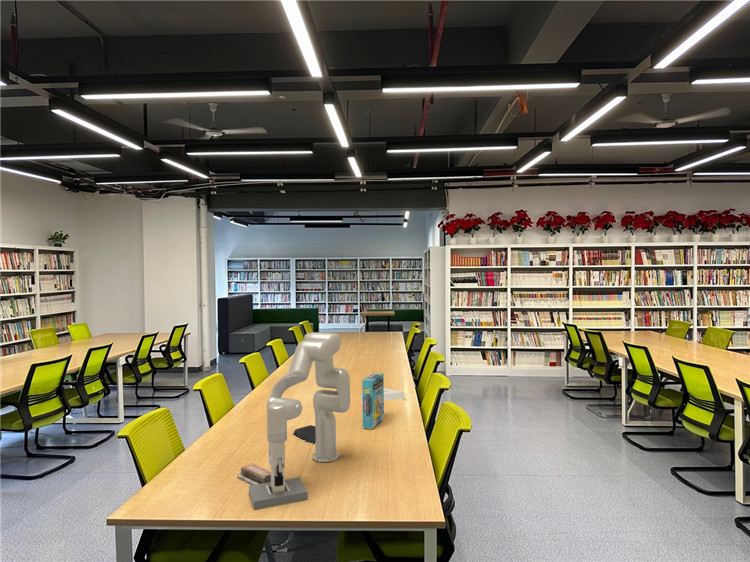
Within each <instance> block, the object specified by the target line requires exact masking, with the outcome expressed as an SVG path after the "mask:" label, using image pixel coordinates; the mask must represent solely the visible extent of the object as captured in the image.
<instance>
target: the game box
mask: <svg viewBox="0 0 750 562" xmlns="http://www.w3.org/2000/svg"><path fill="white" fill-rule="evenodd" d="M384 378H385V376H384V372H383V373H382V372H373V373H372V374H370V375H369V376H367V377H365V378H364V379H362V381H361V382H362V383H361V384H362V385H361V386H362V393H361V395H362V399H363V405H362V428H363V427H364V428H374V427H375V426H376V425H377V424H378V423H379V422H380V421H381V420H382V419H383V418H384V419H385V403H384V388H385V386H384ZM384 419H383V420H384ZM383 420H382V421H383ZM382 421H381V422H382ZM381 422H380V423H381ZM380 423H379V424H380ZM379 424H378V425H379ZM378 425H377V426H378ZM377 426H376V427H377ZM376 427H375V428H376ZM375 428H374V429H375Z"/></svg>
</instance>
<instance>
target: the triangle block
mask: <svg viewBox="0 0 750 562" xmlns="http://www.w3.org/2000/svg"><path fill="white" fill-rule="evenodd" d="M395 399H404V400H405V391H401V390H396V389H392V388H387V387H384V401H385V400H395ZM361 403H363V399H362V394H361V395H360V404H361Z"/></svg>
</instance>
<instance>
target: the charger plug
mask: <svg viewBox="0 0 750 562" xmlns="http://www.w3.org/2000/svg"><path fill="white" fill-rule="evenodd" d="M277 467H278V466H277ZM277 467H276V468H277ZM278 470H279V469H277V471H278ZM270 472H271V492H272V493H277V492H282V491H285V480H286V479H285V467H284V468H283V485H282V486H277V487H275V469H272V468H271V467H270Z"/></svg>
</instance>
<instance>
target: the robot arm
mask: <svg viewBox="0 0 750 562" xmlns="http://www.w3.org/2000/svg"><path fill="white" fill-rule="evenodd" d="M341 346H342V339H341V337H340V335H339V334H337V333H333V332H332V333H331V332H317V331H316V332H309V333H308V332H307V333H306V334H305V335H304V336H303V340H301V341H300V342H298V344H297V345H296V347H295V350H294V354H293V356H292V360H291V364H290V366H289V369H288V371H287V373H285V374H284V375H283V376H282V377H281V378H279V380H278V381H277V382H275V384H274V385H273V387H272V388H271V390H270V393H269V397H268V400H267V403H266V437H267V439H266V441H267V442H268V463H269V466H270V469H271V468H272V469H275V487H277V486H282V485H283V468H284V469H285V467H286V445H285V443H286V441H287V440H288V421H291V420H294V419H296V418H298V417H299V416H300V415H301V414H302V412H303V404H302V402H301V401H300V400H298V399H294V398H289V397H288V398H286V397H282V395H284V393H285V392H286V391H287V390H288V389H289V388H291V387H293V386H296V385H298V384H300V383H303V382H305V381H306V380H307V379H308V378H309V376H310V372H311V368H312V365H313V363H314V370H315V371H314V373H315V374H314V375H315V376H314V377H315V384H316V385H317V386H318V388H319V387H320V388H324V389H319V390H316V392H315V393H314V394H313V395H312V396H313V397H312V403H313V409H314V417H315V418H314V419H315V421H314V423H315V424H314V426H315V437H316V444H315V451H314V453H313V454H312V460H313V459H314V460H313V461H315V462H317V461H318V463H331V462H332V463H333V462H335V461H338V459H340V453H339V452H338V451H337V423H336V422H337V421H336V416H335V414H334V413H341V414H342V413H343V414H344V413H347V412H348V410H349V409H350V405H351V385H350V384H351V382H350V381H351V380H350V379H351V378H350V374H349V371H348V370H347V369H345V368H342V367H335V365H334V357H333V356H334V355H336V354H337V352H338V351H340V349H341ZM331 389H332V390H331ZM333 389H335V390H333ZM277 466H278V467H277ZM276 467H277V468H276ZM277 469H279V470H278V471H277Z"/></svg>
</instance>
